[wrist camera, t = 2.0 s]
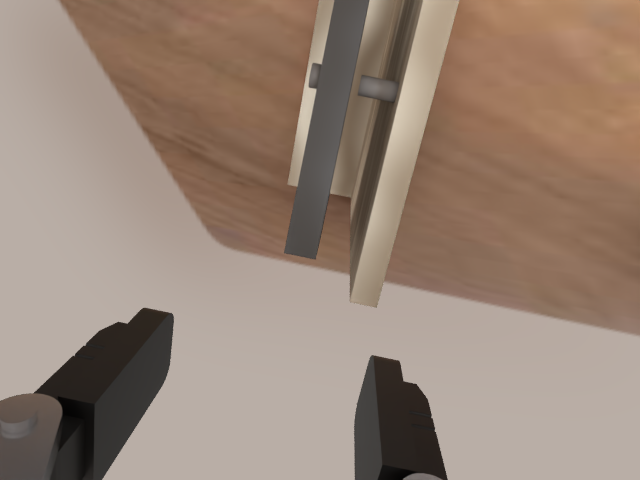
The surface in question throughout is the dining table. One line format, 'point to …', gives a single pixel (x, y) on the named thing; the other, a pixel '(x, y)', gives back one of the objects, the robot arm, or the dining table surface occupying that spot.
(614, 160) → the dining table surface
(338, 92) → the picture frame
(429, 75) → the wall board stand
